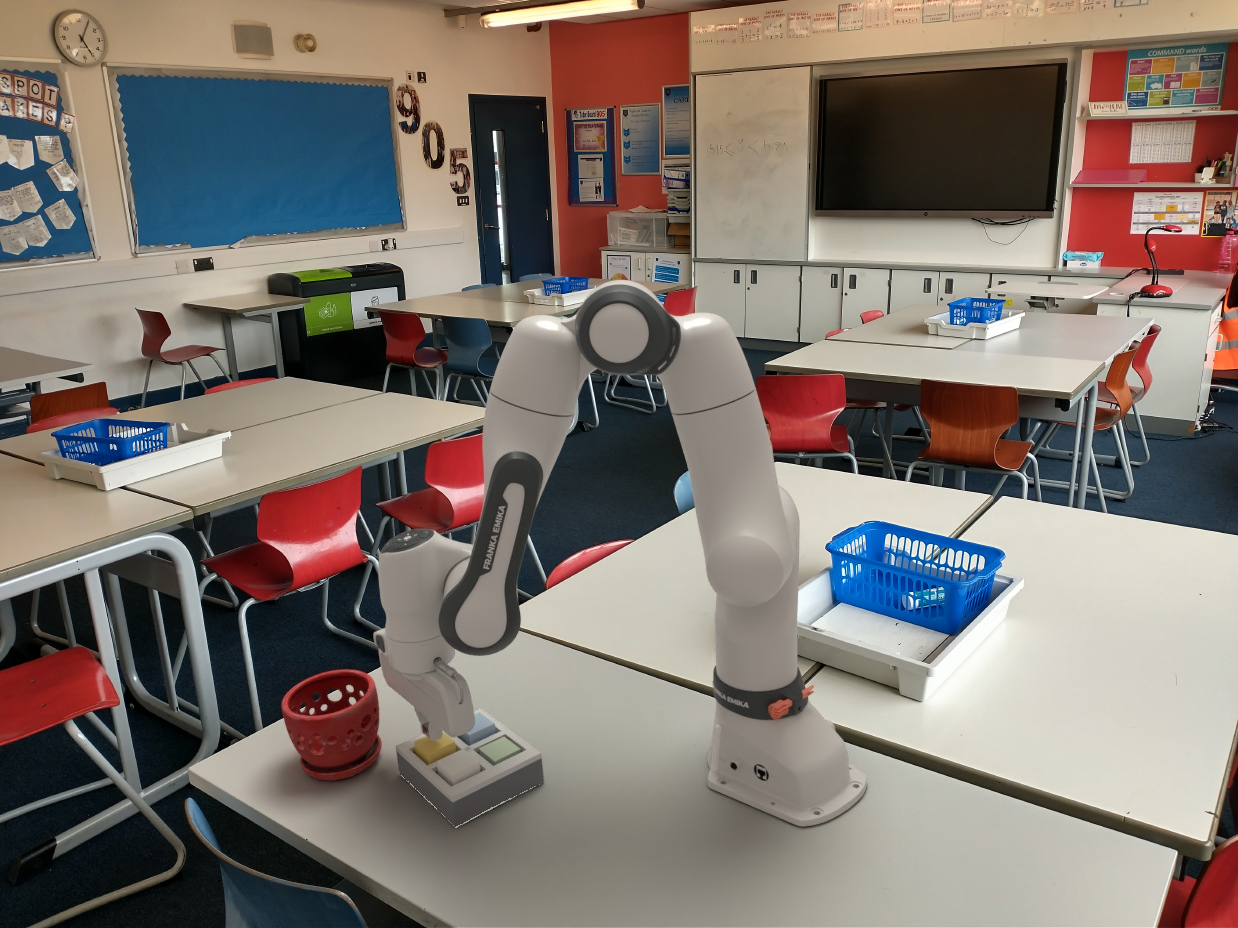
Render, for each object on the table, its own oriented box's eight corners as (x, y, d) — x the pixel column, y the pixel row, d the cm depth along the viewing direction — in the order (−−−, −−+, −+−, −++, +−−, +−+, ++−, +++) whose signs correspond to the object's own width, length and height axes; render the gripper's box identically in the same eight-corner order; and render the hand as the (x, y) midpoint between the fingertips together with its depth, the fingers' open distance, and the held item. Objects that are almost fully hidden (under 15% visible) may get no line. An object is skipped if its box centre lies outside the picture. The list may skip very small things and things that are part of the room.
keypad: (544, 782, 132) (541, 752, 130) (456, 828, 123) (452, 797, 122) (483, 735, 144) (480, 708, 142) (399, 774, 135) (395, 745, 134)
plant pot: (316, 737, 146) (303, 667, 143) (398, 737, 145) (388, 667, 141) (278, 789, 134) (264, 715, 130) (367, 791, 132) (356, 715, 129)
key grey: (481, 778, 128) (479, 761, 127) (454, 791, 125) (451, 774, 124) (465, 764, 131) (463, 748, 130) (438, 777, 128) (436, 761, 128)
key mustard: (457, 757, 133) (455, 741, 132) (430, 770, 130) (428, 753, 129) (442, 745, 136) (440, 729, 135) (415, 757, 133) (413, 741, 133)
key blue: (496, 739, 136) (494, 723, 136) (471, 751, 134) (469, 735, 133) (481, 727, 140) (479, 712, 139) (456, 738, 137) (454, 723, 136)
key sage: (522, 764, 132) (520, 748, 131) (496, 777, 129) (494, 761, 129) (505, 752, 135) (504, 736, 134) (480, 764, 133) (478, 748, 132)
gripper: (481, 665, 122) (491, 758, 126) (407, 615, 137) (418, 699, 141) (438, 683, 118) (449, 778, 122) (367, 629, 134) (379, 715, 138)
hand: (432, 735), depth 132 cm, fingers closed
